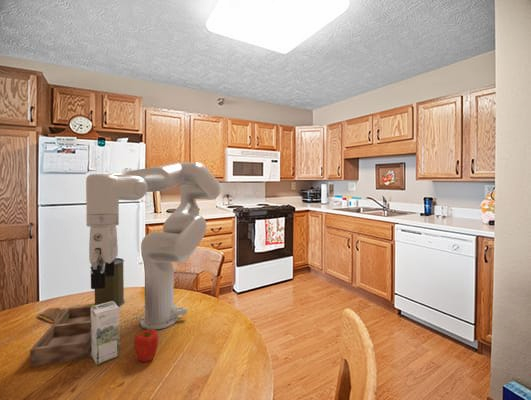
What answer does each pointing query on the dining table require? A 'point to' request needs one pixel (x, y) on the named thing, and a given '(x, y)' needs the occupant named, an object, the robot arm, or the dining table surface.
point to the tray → (65, 338)
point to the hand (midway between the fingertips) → (103, 281)
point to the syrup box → (104, 332)
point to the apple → (146, 345)
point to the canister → (112, 286)
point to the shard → (52, 314)
